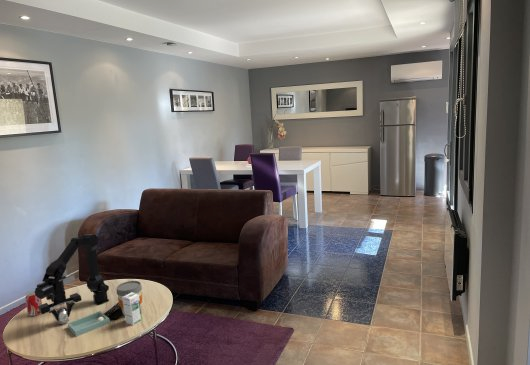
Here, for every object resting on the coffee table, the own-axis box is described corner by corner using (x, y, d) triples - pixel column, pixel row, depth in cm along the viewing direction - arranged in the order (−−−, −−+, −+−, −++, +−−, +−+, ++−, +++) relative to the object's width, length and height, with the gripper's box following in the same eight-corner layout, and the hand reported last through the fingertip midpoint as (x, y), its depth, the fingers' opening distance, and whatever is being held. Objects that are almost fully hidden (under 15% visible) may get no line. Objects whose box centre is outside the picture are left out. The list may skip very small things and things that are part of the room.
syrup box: (133, 326, 195) (129, 298, 192) (125, 323, 198) (121, 296, 195) (142, 321, 199) (139, 293, 197) (134, 318, 202) (131, 291, 200)
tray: (101, 316, 207) (100, 310, 207) (110, 324, 198) (109, 318, 198) (68, 329, 197) (67, 323, 196) (76, 337, 188) (75, 331, 187)
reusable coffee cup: (134, 319, 201) (130, 291, 199) (114, 317, 206) (110, 289, 203) (149, 308, 213) (146, 281, 210) (130, 305, 217) (126, 279, 215)
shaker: (66, 318, 205) (64, 305, 204) (69, 321, 201) (67, 308, 200) (56, 321, 202) (54, 309, 200) (59, 325, 198) (57, 312, 197)
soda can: (36, 317, 211) (32, 296, 209) (25, 317, 213) (21, 295, 211) (46, 310, 218) (42, 290, 216) (35, 310, 220) (31, 290, 218)
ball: (103, 320, 201) (102, 314, 201) (105, 323, 199) (104, 317, 198) (96, 323, 199) (95, 317, 198) (99, 325, 197) (98, 319, 196)
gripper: (72, 279, 211) (76, 307, 213) (33, 291, 198) (38, 320, 201) (79, 285, 202) (84, 313, 205) (38, 298, 190) (44, 328, 193)
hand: (62, 318), depth 201 cm, fingers closed on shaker, 5 cm apart
